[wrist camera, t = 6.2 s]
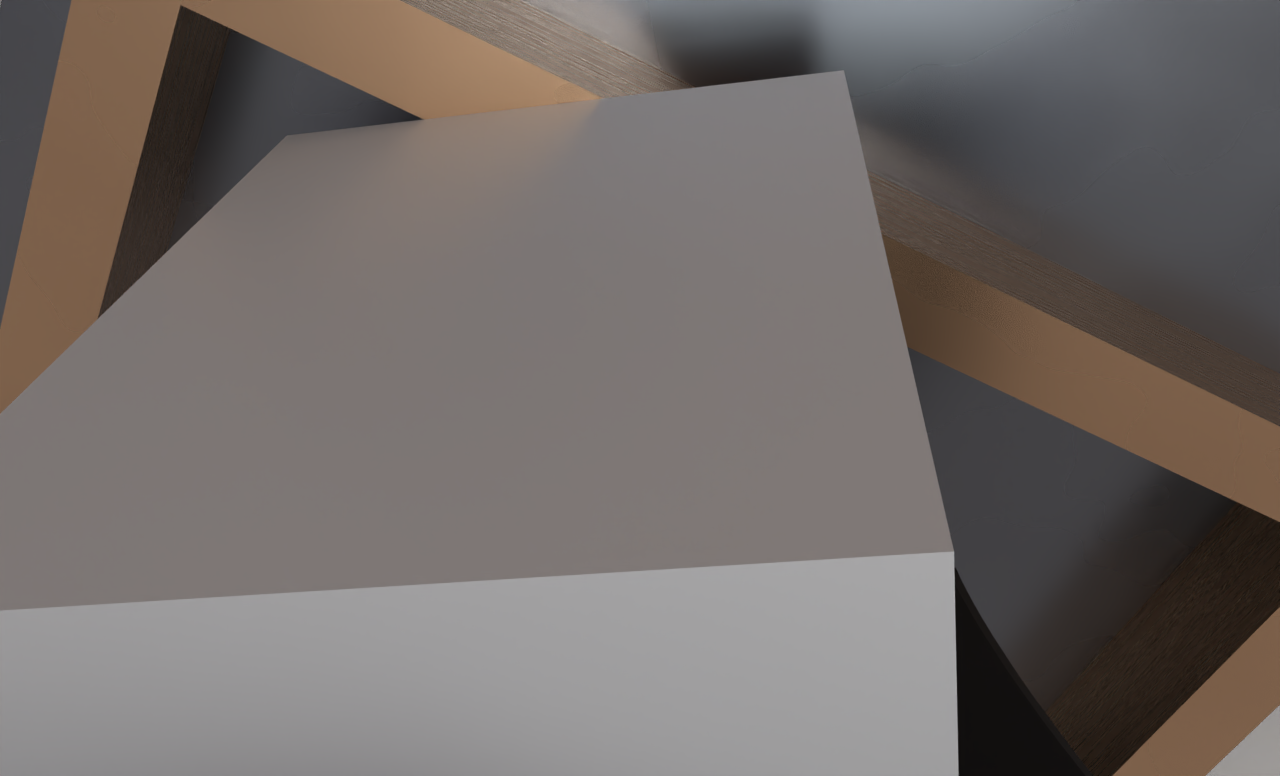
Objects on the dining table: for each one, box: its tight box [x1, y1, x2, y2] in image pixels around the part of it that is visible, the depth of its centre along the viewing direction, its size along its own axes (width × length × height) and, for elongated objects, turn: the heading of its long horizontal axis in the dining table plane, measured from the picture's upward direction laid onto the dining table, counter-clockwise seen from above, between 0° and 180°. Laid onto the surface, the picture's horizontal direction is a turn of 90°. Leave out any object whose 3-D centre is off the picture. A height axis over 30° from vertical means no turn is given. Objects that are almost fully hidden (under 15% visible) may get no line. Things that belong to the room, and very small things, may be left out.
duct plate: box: [0, 0, 1280, 776], centre depth 13 cm, size 15×14×2 cm
